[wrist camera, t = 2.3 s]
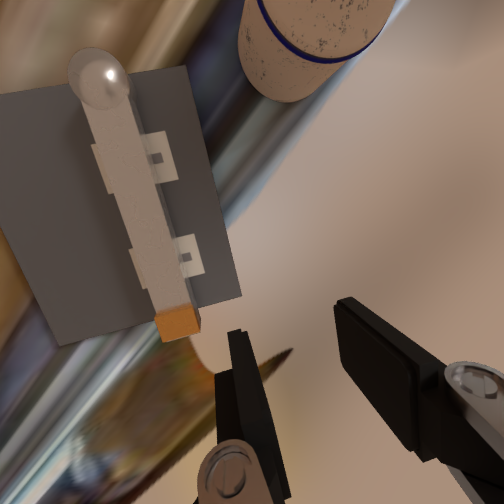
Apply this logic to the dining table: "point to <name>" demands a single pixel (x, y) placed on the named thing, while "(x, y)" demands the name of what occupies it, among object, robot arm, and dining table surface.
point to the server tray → (105, 206)
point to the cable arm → (135, 187)
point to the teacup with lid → (304, 41)
